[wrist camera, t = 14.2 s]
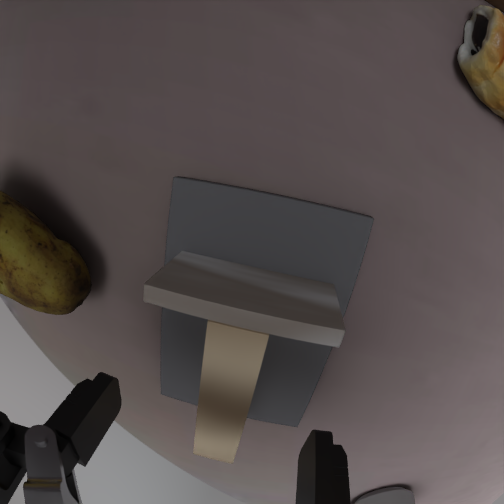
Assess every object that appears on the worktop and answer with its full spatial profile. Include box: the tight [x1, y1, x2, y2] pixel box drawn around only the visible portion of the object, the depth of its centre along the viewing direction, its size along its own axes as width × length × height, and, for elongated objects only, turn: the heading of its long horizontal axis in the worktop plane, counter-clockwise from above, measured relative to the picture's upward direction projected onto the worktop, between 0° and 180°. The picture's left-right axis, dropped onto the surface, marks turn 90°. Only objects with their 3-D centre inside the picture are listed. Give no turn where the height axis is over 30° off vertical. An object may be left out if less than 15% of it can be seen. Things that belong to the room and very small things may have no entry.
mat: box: [161, 176, 374, 427], centre depth 17 cm, size 10×15×1 cm, turn 170°
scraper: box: [143, 251, 346, 464], centre depth 15 cm, size 11×8×4 cm
